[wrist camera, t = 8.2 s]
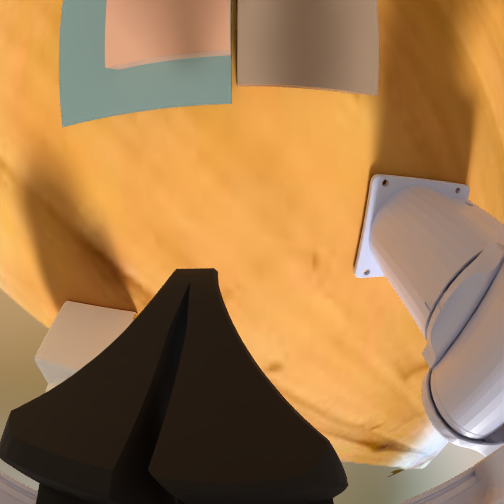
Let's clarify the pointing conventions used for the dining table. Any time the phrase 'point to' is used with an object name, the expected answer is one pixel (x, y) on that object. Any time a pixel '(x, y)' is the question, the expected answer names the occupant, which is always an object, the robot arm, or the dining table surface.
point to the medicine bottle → (78, 339)
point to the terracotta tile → (165, 31)
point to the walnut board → (309, 44)
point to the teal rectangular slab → (127, 73)
